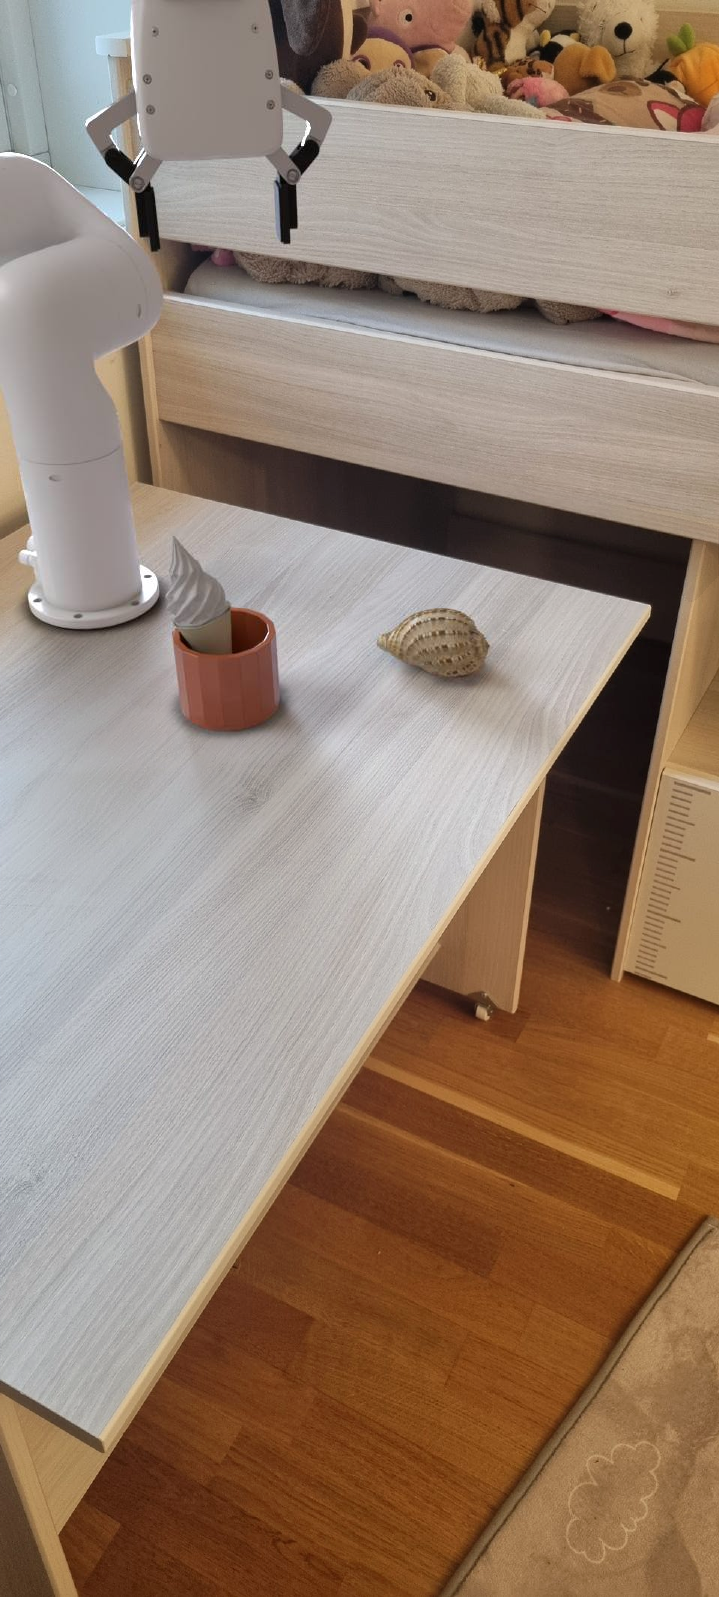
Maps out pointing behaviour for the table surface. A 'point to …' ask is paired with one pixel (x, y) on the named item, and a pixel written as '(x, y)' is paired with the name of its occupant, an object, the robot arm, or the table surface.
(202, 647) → the ice cream cone
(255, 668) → the cone holder
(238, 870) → the table surface
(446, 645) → the seashell
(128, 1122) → the table surface
